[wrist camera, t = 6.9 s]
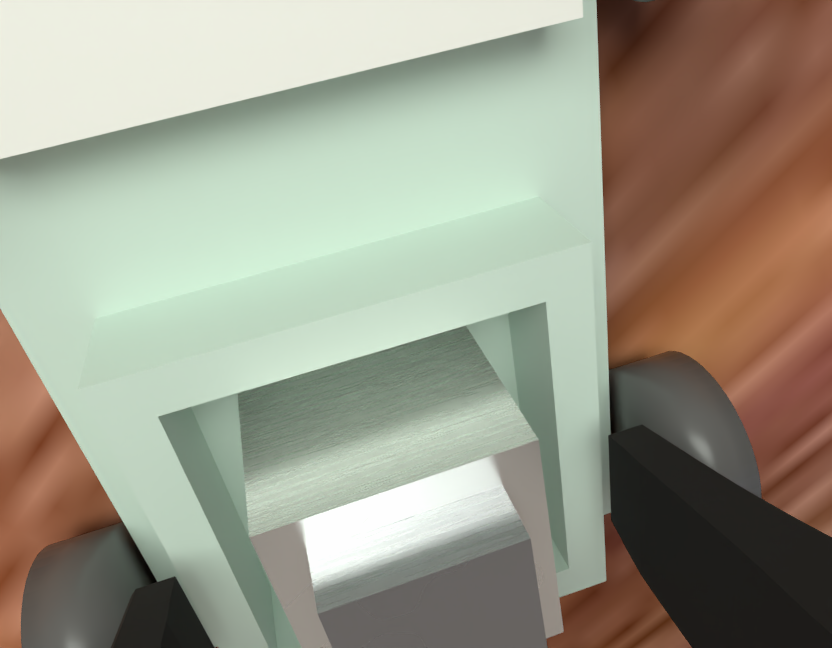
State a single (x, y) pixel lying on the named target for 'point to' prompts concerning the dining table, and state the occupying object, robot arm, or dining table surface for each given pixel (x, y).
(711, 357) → the dining table surface
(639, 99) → the dining table surface
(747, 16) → the dining table surface
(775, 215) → the dining table surface
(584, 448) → the chassis
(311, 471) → the grey boxy piece
